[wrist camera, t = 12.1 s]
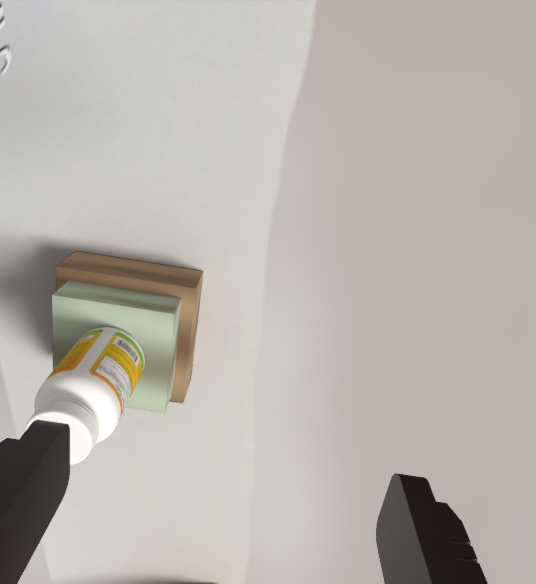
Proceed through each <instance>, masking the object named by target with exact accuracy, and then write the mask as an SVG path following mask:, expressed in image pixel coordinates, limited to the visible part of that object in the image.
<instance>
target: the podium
mask: <svg viewBox="0 0 536 584" xmlns="http://www.w3.org/2000/svg"><path fill="white" fill-rule="evenodd" d="M202 279H203V271H199V270H193V269H186V268H180V267H174V266H168V265H161V264H155V263H149V262H143V261H136V260H130V259H124V258H117V257H111V256H105V255H99V254H92V253H86V252H80V251H75V252H74V253H73V254H71V255H70V256H69V257H67V258H66V259H65V260H64V261H62V262H61V263H60V264H58V265H57V266H56V292H55V293H54V294H53V295H52V329H53V371H54V370H55V368H56V367H57V366H58V365H59V364H60V362H61V361H62V360H63V359H64V357H65V356H66V355H67V354H68V353H69V351H70V350H71V349H72V347H73V346H74V345H75V344H76V342H77V341H78V340H79V339H80V338H81V337H82V336H83V335H84V334H85V333H87V332H89V331H91V330H93V329H96V328H101V327H111V328H116V329H119V330H122V331H124V332H126V333H128V334H129V335H131V336H132V337H133V338H134V339H135V340H136V341H137V342H138V344H139V345H140V347H141V349H142V351H143V354H144V359H145V364H144V369H143V372H142V374H141V377H140V379H139V381H138V383H137V385H136V387H135V389H134V391H133V393H132V395H131V397H130V399H129V401H128V403H127V405H126V407H125V408H132V409H138V410H145V411H152V412H158V413H165V411H166V409H167V406H168V403H169V401H170V402H177V403H183V402H184V399H185V395H186V392H187V389H188V386H189V383H190V380H191V374H192V365H193V356H194V348H195V339H196V330H197V322H198V313H199V305H200V296H201V287H202Z"/></svg>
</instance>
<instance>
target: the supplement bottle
mask: <svg viewBox="0 0 536 584" xmlns="http://www.w3.org/2000/svg"><path fill="white" fill-rule="evenodd" d="M144 364H145V359H144V354H143V351H142V349H141V347H140V345H139V344H138V342H137V341H136V340H135V339H134V338H133V337H132V336H131V335H129V334H128V333H126V332H124V331H122V330H119V329H116V328H111V327H101V328H96V329H93V330H91V331H89V332H87V333H85V334H84V335H83V336H82V337H81V338H80V339H79V340H78V341H77V342H76V344H75V345H74V346H73V347H72V349H71V350H70V351H69V353H68V354H67V355H66V356H65V357H64V359H63V360H62V361H61V362H60V364H59V365H58V366H57V367H56V368H55V370H54V371H53V372H52V373H51V374H50V376H49V377H48V378H47V379H46V381H45V382H44V383H43V385H42V386H41V387H40V389H39V391H38V392H37V395H36V398H35V413H34V414H33V416H32V417H31V418H30V420H29V421H28V423H27V425H26V428H25V431H26V430H27V429H28V427H29V426H30V425H31V424H32V422H33V421H35V420H44V421H51V422H58V423H65V424H68V425H69V427H70V465H72V464H76V463H78V462H80V461H82V460H83V459H85V458H86V457H87V456H88V454H89V453H90V451H91V450H92V448H93V446H94V445H95V444H96V443H98V442H100V441H102V440H104V439H105V438H107V437H108V436H109V435H110V434H111V433H112V432H113V430H114V429H115V427H116V425H117V424H118V422H119V420H120V417H121V415H122V413H123V411H124V409H125V407H126V405H127V403H128V401H129V399H130V397H131V395H132V393H133V391H134V389H135V387H136V385H137V383H138V381H139V379H140V377H141V374H142V372H143V369H144Z"/></svg>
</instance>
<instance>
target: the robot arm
mask: <svg viewBox="0 0 536 584" xmlns="http://www.w3.org/2000/svg"><path fill="white" fill-rule="evenodd" d="M69 475H70V427H69V425H68V424H65V423H58V422H51V421H44V420H35V421H33V422H32V424H31V425H30V426H29V427H28V429H27V430H26V431H25V433H24V434H23V435H22V437H21V438H20V439H19V440H18V439H11V438H6V439H5V440H3V441H2V442H0V584H17V583H18V581H19V579H20V577H21V575H22V574H23V572H24V570H25V568H26V566H27V564H28V562H29V560H30V559H31V557H32V555H33V553H34V551H35V549H36V547H37V546H38V544H39V542H40V540H41V538H42V536H43V535H44V533H45V531H46V529H47V527H48V525H49V523H50V522H51V520H52V518H53V516H54V514H55V512H56V510H57V509H58V507H59V505H60V503H61V501H62V499H63V497H64V495H65V492H66V489H67V485H68V481H69ZM376 541H377V548H378V553H379V558H380V562H381V567H382V572H383V577H384V582H385V584H487V581H486V579H485V576H484V574H483V572H482V569H481V567H480V564H479V563H477V557H476V554H475V552H474V550H473V547H472V546H470V540H469V538H468V535H467V533H466V530H465V528H464V525H463V523H462V521H461V520H460V519H459V518H458V516H457V515H456V514H455V513H454V512H453V510H452V509H451V508H450V507H449V506H448V504H447V503H441V502H436V501H435V498H434V495H433V493H432V490H431V487H430V485H429V482H428V481H427V479H426V478H423V477H416V476H410V475H403V474H394V475H393V476H392V478H391V481H390V484H389V487H388V490H387V493H386V496H385V499H384V502H383V505H382V508H381V511H380V514H379V517H378V521H377V528H376Z"/></svg>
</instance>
